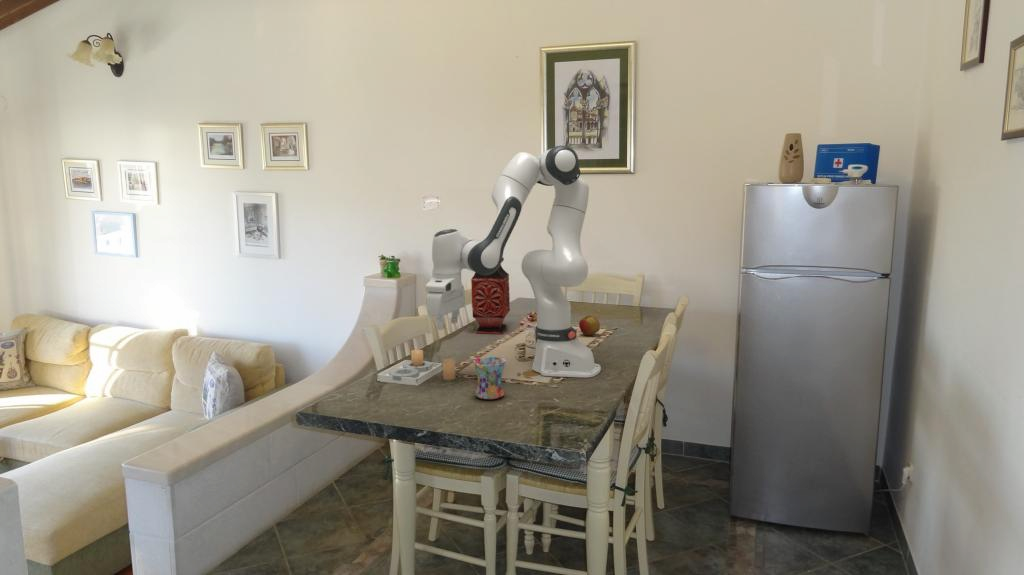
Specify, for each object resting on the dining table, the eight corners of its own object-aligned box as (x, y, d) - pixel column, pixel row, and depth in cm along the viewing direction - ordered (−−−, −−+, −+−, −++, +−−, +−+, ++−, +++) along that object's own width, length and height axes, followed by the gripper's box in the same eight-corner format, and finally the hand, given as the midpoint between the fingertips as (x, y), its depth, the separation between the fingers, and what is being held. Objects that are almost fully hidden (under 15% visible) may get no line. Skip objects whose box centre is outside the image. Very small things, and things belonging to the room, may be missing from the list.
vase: (478, 327, 286) (477, 256, 281) (510, 327, 284) (509, 256, 279) (471, 334, 272) (470, 260, 267) (505, 335, 270) (504, 261, 266)
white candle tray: (443, 370, 222) (442, 349, 221) (417, 385, 206) (416, 363, 205) (405, 366, 227) (404, 346, 226) (377, 381, 210) (376, 359, 209)
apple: (585, 332, 275) (585, 313, 273) (602, 335, 270) (603, 315, 269) (575, 336, 268) (575, 316, 267) (593, 338, 264) (593, 318, 263)
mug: (502, 402, 190) (501, 366, 188) (470, 400, 191) (469, 364, 190) (510, 389, 201) (510, 355, 200) (480, 387, 203) (479, 353, 201)
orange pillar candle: (457, 377, 214) (456, 359, 213) (452, 380, 210) (451, 362, 210) (446, 376, 215) (446, 358, 214) (441, 379, 212) (440, 361, 211)
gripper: (452, 277, 219) (452, 319, 221) (422, 286, 200) (423, 332, 202) (469, 278, 217) (470, 320, 219) (441, 287, 198) (442, 333, 200)
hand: (447, 326), depth 210 cm, fingers open, 8 cm apart
